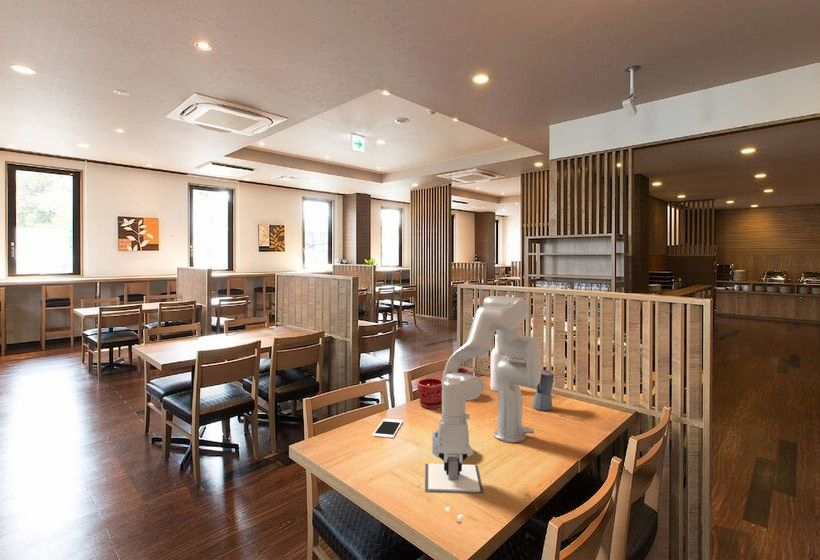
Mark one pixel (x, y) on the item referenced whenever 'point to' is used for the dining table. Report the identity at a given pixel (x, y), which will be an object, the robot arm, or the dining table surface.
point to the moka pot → (544, 391)
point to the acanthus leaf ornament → (458, 515)
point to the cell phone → (388, 428)
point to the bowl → (434, 442)
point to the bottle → (495, 365)
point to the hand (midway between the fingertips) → (452, 472)
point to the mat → (452, 491)
